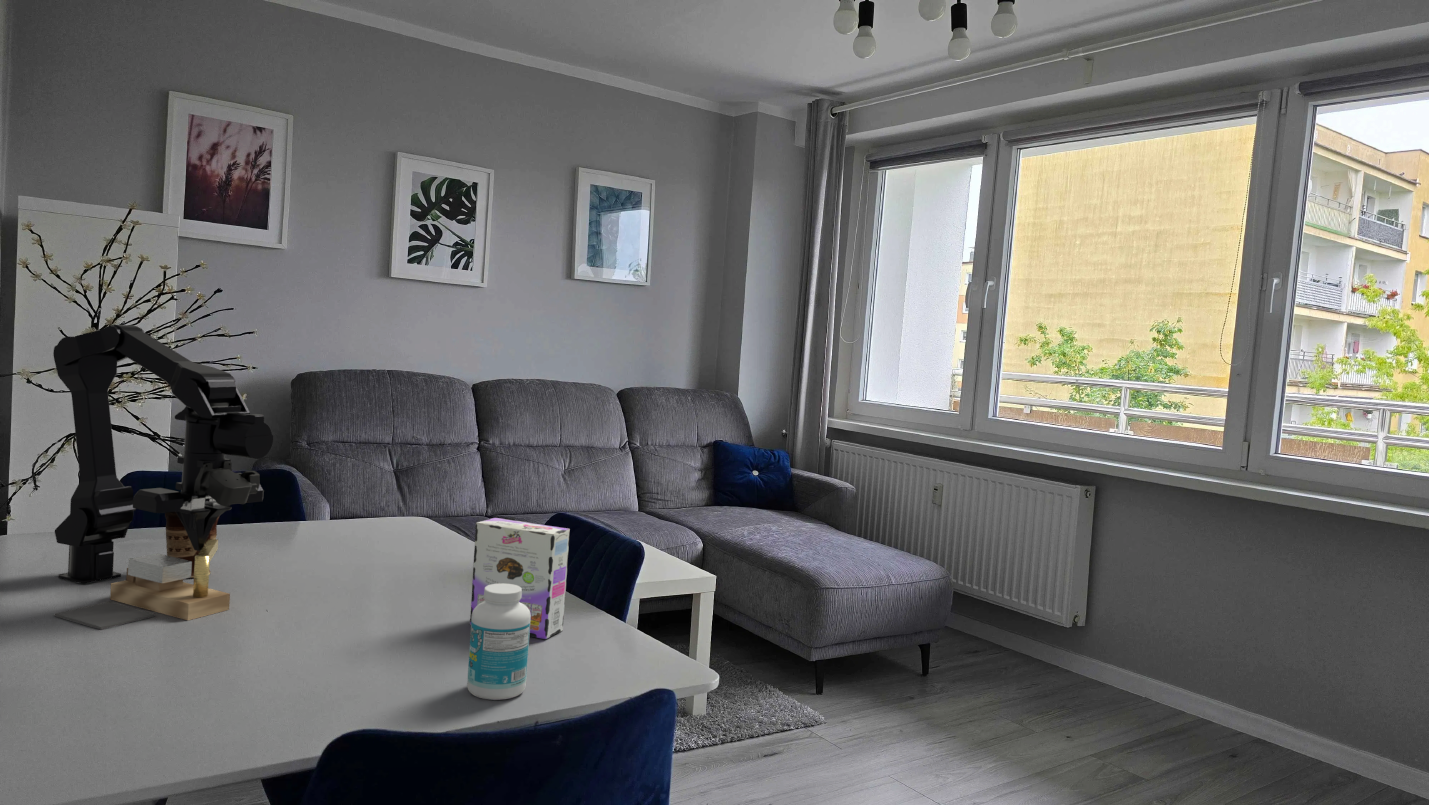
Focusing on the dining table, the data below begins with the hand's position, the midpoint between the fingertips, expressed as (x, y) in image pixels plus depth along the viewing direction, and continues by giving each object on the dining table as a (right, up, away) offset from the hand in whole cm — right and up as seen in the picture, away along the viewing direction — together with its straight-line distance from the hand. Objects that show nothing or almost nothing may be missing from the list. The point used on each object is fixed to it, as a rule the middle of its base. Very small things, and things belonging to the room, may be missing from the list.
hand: (197, 550), depth 148 cm
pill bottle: (+53, -14, -27) cm, 61 cm away
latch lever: (+2, -5, -1) cm, 6 cm away
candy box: (+50, -12, 0) cm, 51 cm away
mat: (-8, -8, -11) cm, 15 cm away
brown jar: (-9, -6, +14) cm, 18 cm away
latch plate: (-3, -8, -3) cm, 9 cm away
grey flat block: (-5, -4, -2) cm, 6 cm away
